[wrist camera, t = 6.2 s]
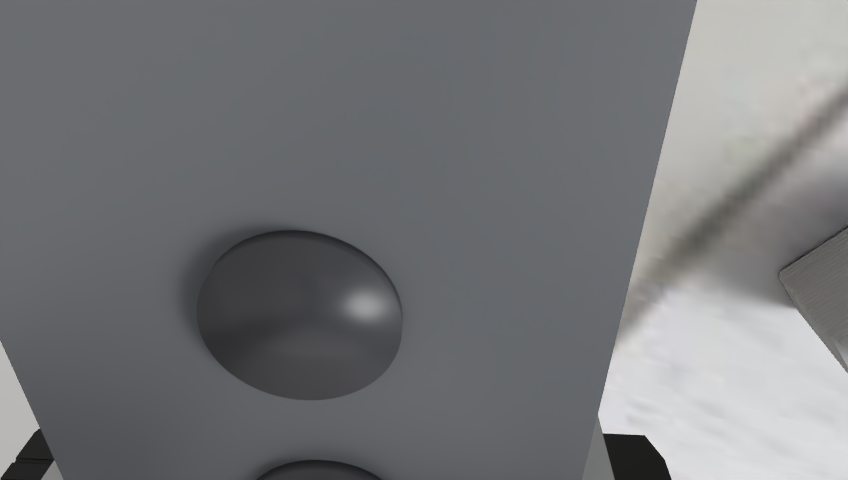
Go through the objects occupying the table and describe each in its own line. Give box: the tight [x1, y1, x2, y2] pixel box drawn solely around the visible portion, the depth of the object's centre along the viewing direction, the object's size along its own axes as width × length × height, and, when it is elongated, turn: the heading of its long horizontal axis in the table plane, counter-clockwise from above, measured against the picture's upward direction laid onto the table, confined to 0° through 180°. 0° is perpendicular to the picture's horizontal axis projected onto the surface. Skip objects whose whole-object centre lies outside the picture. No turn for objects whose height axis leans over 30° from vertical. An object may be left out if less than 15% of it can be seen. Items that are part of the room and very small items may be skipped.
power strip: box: [0, 0, 697, 480], centre depth 12 cm, size 17×7×7 cm, turn 179°
